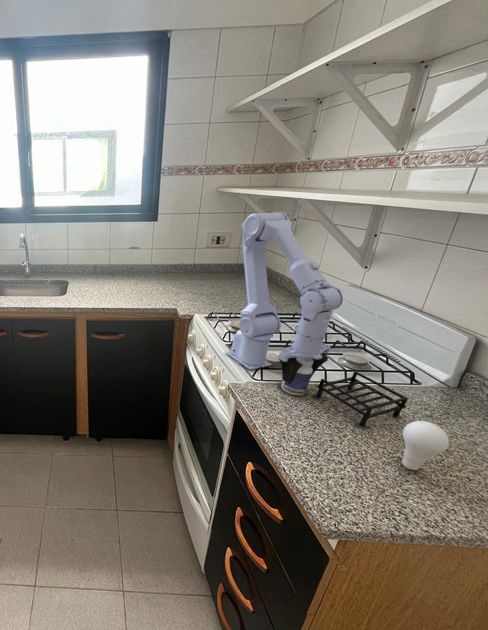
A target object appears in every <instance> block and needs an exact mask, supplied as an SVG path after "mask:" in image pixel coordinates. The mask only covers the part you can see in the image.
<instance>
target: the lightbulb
mask: <svg viewBox="0 0 488 630" xmlns="http://www.w3.org/2000/svg"><path fill="white" fill-rule="evenodd" d="M402 437H403V441H404V447H405V448H404V451H403V457H402V459H401V463H402V465H403V466H404V467H405V468H406V469H408V470H412V471H418V470H419V469H420V468H421V467H422V465H424V464H425V463H426V462H427V461H428V460H429V459H430V458H431V457H433V456H437V455H439V454H442V453H444V452H445V451H446V450H447V449H448V447H449V445H450V440H449V437H448V434H447V433H446V431H445V430H444V429H442V428H441V427H440V426H439V425H437V424H435V423H432V422H430V421H424V420H415V421H412V422H409V423H408V424H407V425H405V426H404V428H403V430H402Z"/></svg>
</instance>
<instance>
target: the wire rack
mask: <svg viewBox="0 0 488 630" xmlns="http://www.w3.org/2000/svg"><path fill="white" fill-rule="evenodd" d="M357 376H359V377H361V378H363V379H364V380H367V381H369V382H370V383H372V384H373V385H376V386H378V387H379V388H381V389H384V390H385V391H387V392H389V393H391V394H393V395H395V396H396V397H399V398H396V399H394V398H392V397H391V396H389V395H387V394H386V393H383V392H381V391H379V390H378V389H376V388H374V387H373V386H370V385H369V384H366V383H365V382H363V381H361V380H360V379H357ZM346 382H348V383H347V384H342V383H346ZM338 384H342V385H338ZM336 385H338V386H336ZM357 385H360V386H361V387H357V388H354V386H357ZM325 387H331V388H325ZM316 388H318V389H317V391H316V394H315V398H317V399H321V397H322V395H323V393H326V394H327V395H329V396H331V397H333V398H334V399H336V400H337V401H339V402H340V403H342V404H344V405H345V406H347V407H348V408H350V409H352V410H353V411H355V412H356V413H358V414H360V415H361V416H362V417H361V419H360V422H359V424H358V425H359V426H360V427H361V428H364V427H366V425H367V423H368V421H369V419H372V418H375V417H379V416H382V415H387V414H390V413H392V416H393V417H395V418H399V416H400V414H401V412H402V410H403V409H406V408H407V405H406V403H407V401H408V400H409V398H408V397H406V396H405V395H403V394H400V393H398V392H397V391H395V390H393V389H391V388H389V387H387V386H386V385H384V384H381V383H380V382H377V381H376V380H374V379H372V378H371V377H368V376H366V375H364V374H362V373H360V372H359V371H356V370H354V371H353V373H352V376H350V377H346V378H343V379H337V380H333V381H328V380H326V379H324V378H321V379H320V381H319V384H317V385H316ZM345 388H346V390H343V389H345ZM363 390H369V391H367V392H364V393H359V394H355V395H352V393H355V392H359V391H363ZM332 391H338V392H336V393H334V392H332ZM374 394H375V395H379V396H375V397H371V398H367V399H363V400H360V399H359V398H362V397H367V396H371V395H374ZM340 396H346V397H345V398H344V397H340ZM382 399H385V400H387V401H384V402H380V403H377V404H373V405H369V404H367V403H370V402H375V401H378V400H382ZM351 400H353V401H354V402H352V403H350V402H349V401H351ZM394 404H395V405H396V406H394V407H390V408H387V409H383V410H379V411H376V412H372V411H373V410H375V409H378V408H383V407H386V406H389V405H394ZM359 405H361V406H363V407H362V408H358V407H357V406H359Z"/></svg>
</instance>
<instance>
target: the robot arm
mask: <svg viewBox="0 0 488 630" xmlns="http://www.w3.org/2000/svg"><path fill="white" fill-rule="evenodd" d="M292 225H293V223H292V221H291V220H290V219H289V217H288V215H287V213H285V212H284V211H276V212H261V213H257V212H253V213H251V214H249V215H248V216H247V217H246V218H245V220H244V221H243V222H242V224H241V230H242V255H243V265H244V266H243V267H244V277H245V288H246V298H247V305H246V307H244V308H243V310H241V311H240V320H239V325H238V326H239V330H238V331H236V333H235V334H234V336H233V340H232V345H231V349H230V352H228V353H227V355H228V356H230V358H232V359H234V360H235V361H236V362H237V363H239V364H241V365H242V366H244V367H245V368H246V369H248V370H250V371H251V370H257V369H261V368H260V367H262V368H266V367H270V366H272V363H271V362H270V361H268V360H266V358H267V354H268V351H269V347H270V343H271V340H272V338H274V335H275V334H277V333H278V332H279V331H280V330H281V326H282V322H281V319H280V317H279V315H278V310H277V308H276V307H275V306H274V305H272V304H271V303H270V296H269V285H268V274H267V273H268V272H267V262H266V251H265V249H266V248H267V247H268V245H270V244H271V243H274V244H275V246H276V248H277V249H278V250H279V251H280V253H281V254H282V255H283V257H284V258H285V259H286V261H287V262H288V264H289V265H290V269H289V272H288V273H289V275H290V277H291V279H292V280H293V282H294V284H295V286H296V287H297V289H298V290H299V292H300V294H301V296H300V297H299V300H300V301H299V303H300V306H301V312H300V314H301V317H300V320H299V323H298V327H297V330H296V333H295V337H294V340H293V343H292V344H291V345H290V346H289V347H287V348H285V349H284V350H280V351H279V353H278V357H277V359H278V361H279V363H280V367H281V376H282V377H281V378H282V380H284V381H285V382H287V383H288V384H290V383H291V382H292V381H293V379H294V376H295V374H296V372H297V371H298V370H299V368H300V367H302V366H303V365H302V364H300V363H299V362H297V360H296V359H297V358H312V359H313V365H312V366H311V367H312V369H313V372H312V375H311V378H313V376H314V374H315V373H316V372H317V370H318V369H319V368H320V367H321V366H323V365H324V364H325V363H326V362H328V360H329V357H328V356H327V355H326V354H329V353H330V350H331V346H330V345H329V344H326V343H325V342H324V339H325V336H326V333H327V330H328V327H329V324H330V322H331V318H332V315H333V312H334V310H337V309H339V308H340V307H341V306H342V304H343V301H344V298H343V294H342V290H341V289H339V288H338V287H336V286H334V285H332V284H331V283H330V282H328V281H327V280H326V278H325V276H324V275H323V273H322V272H321V270H320V264H319V263H318V262H317V263H316V262H315V261H314V260H310V259H307V258H306V256H305V254H304V252H303V251H302V249H301V246H300V245H299V242H298V240H297V239H296V237H295V235H294V233H293V231H292ZM282 380H281V381H282Z"/></svg>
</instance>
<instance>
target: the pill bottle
mask: <svg viewBox="0 0 488 630" xmlns="http://www.w3.org/2000/svg"><path fill="white" fill-rule="evenodd" d="M296 360H297V362H299V363H300V364H302V365H303V366H302V367H300V368H299V370H298V371H297V372H296V374H295V376H294V379H293V381H292V382H291V383H290V384H288V383H287V382H285V381H284V380H281V384H280V387H281V389H282V390H283V391H284V392H286V393H288V394H289V395H292V396H303V395H305V394H306V392H307V390H308V387H309V384H310V381H311V378H312V377H311V375H312V372H313V369H312V367H311V366H312V365H313V359H312V358H297V359H296Z"/></svg>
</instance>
